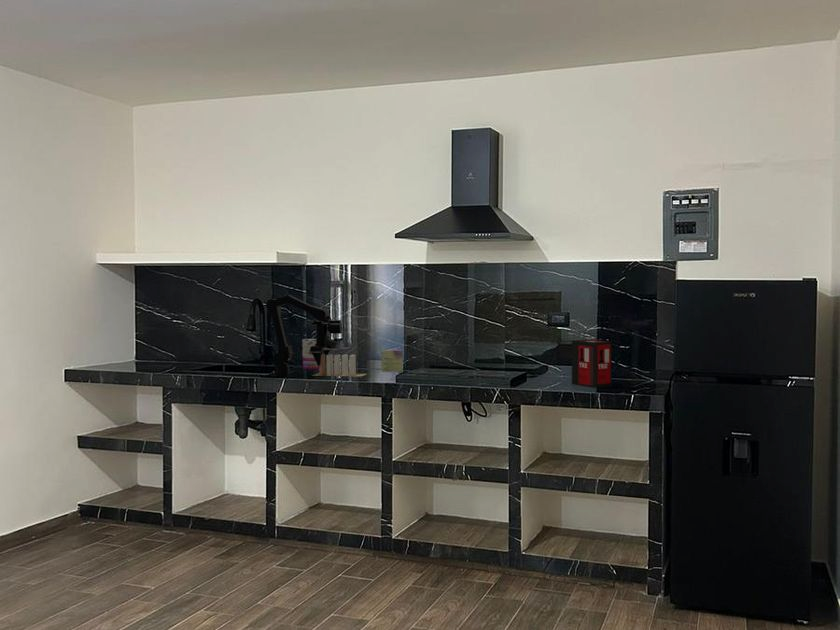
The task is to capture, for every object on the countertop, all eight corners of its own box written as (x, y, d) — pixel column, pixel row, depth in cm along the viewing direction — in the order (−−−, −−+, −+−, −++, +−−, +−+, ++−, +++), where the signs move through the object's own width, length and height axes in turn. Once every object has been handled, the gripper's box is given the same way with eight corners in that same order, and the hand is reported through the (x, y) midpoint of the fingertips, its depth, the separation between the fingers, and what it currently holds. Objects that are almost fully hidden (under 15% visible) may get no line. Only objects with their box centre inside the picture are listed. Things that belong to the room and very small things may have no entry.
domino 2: (326, 375, 411) (326, 355, 410) (330, 373, 416) (329, 354, 415) (329, 375, 411) (329, 355, 410) (333, 374, 415) (332, 354, 415)
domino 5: (349, 375, 408) (349, 355, 408) (352, 374, 413) (352, 354, 413) (352, 375, 408) (352, 355, 407) (355, 374, 413) (355, 354, 412)
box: (401, 371, 430) (400, 349, 430) (402, 373, 425) (402, 350, 424) (381, 372, 429) (381, 349, 428) (382, 373, 423) (382, 350, 422)
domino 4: (342, 375, 409) (341, 355, 409) (345, 374, 414) (344, 354, 414) (345, 375, 409) (344, 355, 408) (348, 374, 414) (347, 354, 413)
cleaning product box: (571, 383, 377) (571, 340, 376) (586, 382, 382) (586, 339, 380) (596, 388, 363) (596, 343, 362) (611, 386, 367) (611, 341, 366)
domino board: (311, 377, 410) (311, 375, 410) (318, 375, 420) (318, 373, 420) (361, 378, 404) (361, 376, 404) (367, 375, 414) (367, 373, 414)
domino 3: (334, 375, 410) (334, 355, 410) (337, 374, 415) (337, 354, 414) (337, 375, 410) (337, 355, 409) (340, 374, 415) (340, 354, 414)
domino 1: (319, 374, 412) (318, 355, 411) (322, 373, 417) (322, 354, 416) (322, 375, 411) (322, 355, 411) (325, 373, 416) (325, 354, 416)
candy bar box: (324, 369, 444) (324, 339, 443) (319, 370, 440) (318, 339, 439) (307, 368, 450) (307, 338, 449) (302, 369, 445) (301, 339, 444)
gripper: (330, 335, 402) (331, 367, 403) (342, 332, 420) (343, 362, 421) (309, 335, 405) (309, 366, 405) (322, 332, 423) (322, 362, 424)
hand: (322, 364), depth 414 cm, fingers open, 9 cm apart
